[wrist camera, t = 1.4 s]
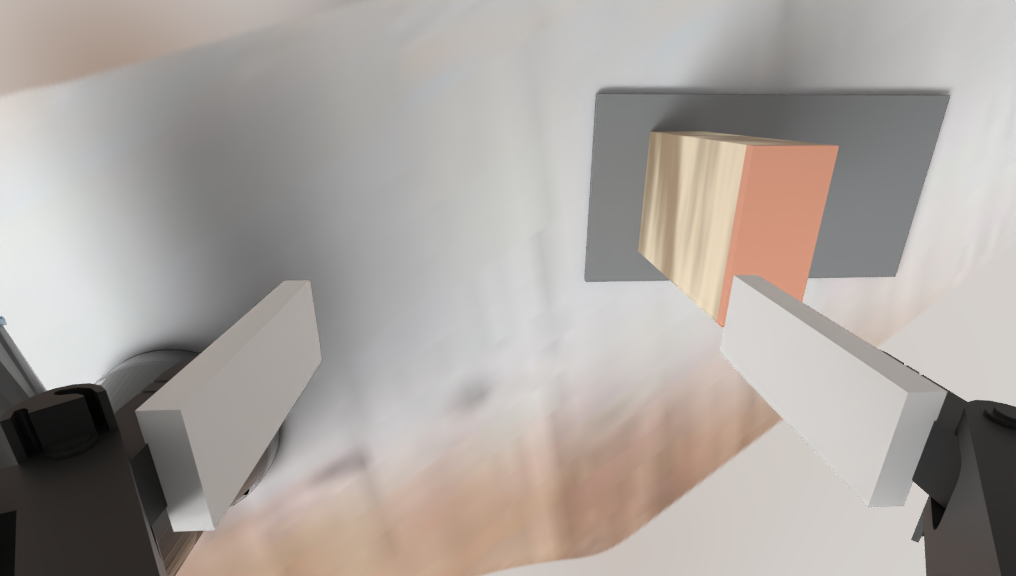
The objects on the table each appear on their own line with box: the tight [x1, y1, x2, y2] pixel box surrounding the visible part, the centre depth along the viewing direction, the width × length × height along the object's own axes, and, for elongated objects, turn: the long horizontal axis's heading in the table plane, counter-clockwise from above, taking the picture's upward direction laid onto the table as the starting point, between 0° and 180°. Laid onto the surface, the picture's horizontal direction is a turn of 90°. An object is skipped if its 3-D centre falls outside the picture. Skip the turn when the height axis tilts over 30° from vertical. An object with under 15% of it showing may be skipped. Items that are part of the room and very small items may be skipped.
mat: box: [585, 94, 950, 282], centre depth 37 cm, size 26×14×1 cm, turn 90°
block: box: [638, 131, 839, 327], centre depth 30 cm, size 4×9×14 cm, turn 0°
